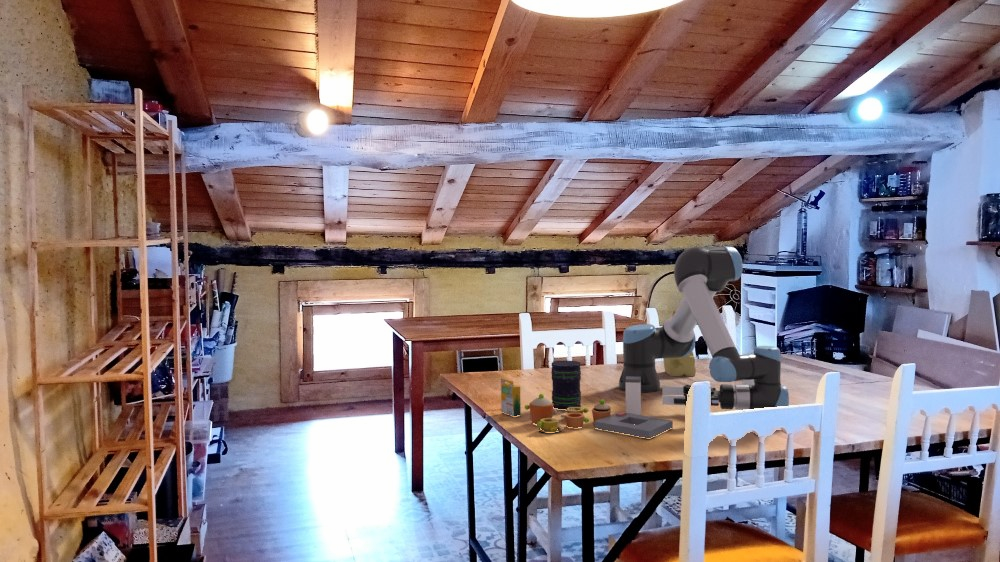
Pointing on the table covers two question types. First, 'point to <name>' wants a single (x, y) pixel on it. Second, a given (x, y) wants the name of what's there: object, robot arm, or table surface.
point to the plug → (633, 395)
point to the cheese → (680, 365)
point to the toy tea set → (574, 417)
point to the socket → (626, 422)
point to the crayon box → (510, 398)
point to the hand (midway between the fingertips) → (662, 394)
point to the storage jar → (566, 384)
